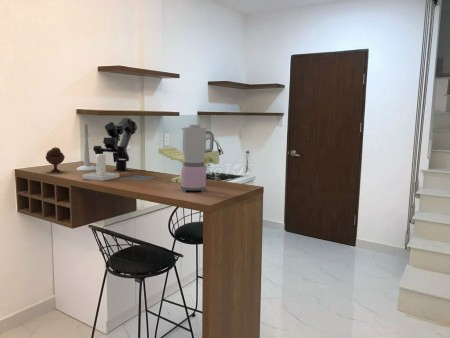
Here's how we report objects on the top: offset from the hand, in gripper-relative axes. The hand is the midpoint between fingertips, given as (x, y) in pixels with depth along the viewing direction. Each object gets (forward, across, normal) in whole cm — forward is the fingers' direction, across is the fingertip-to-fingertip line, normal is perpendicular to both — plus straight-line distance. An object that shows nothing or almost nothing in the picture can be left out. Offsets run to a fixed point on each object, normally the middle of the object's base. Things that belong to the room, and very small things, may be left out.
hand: (106, 161), depth 213 cm
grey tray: (+12, 0, 0) cm, 12 cm away
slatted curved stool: (+9, +49, +3) cm, 50 cm away
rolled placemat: (+11, 0, 0) cm, 11 cm away
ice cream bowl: (-1, -36, +13) cm, 39 cm away
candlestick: (-9, -22, +22) cm, 32 cm away
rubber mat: (+8, +20, +4) cm, 22 cm away
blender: (+27, +57, -15) cm, 65 cm away
